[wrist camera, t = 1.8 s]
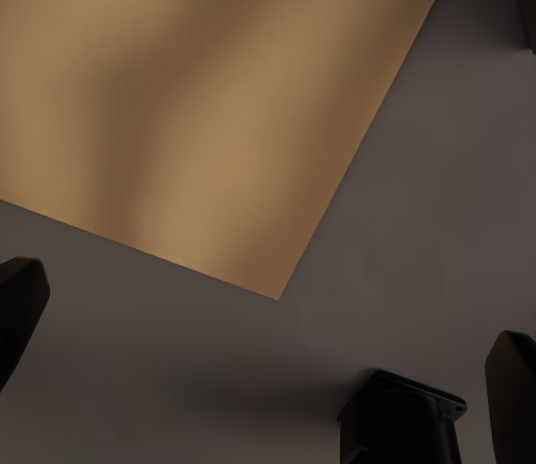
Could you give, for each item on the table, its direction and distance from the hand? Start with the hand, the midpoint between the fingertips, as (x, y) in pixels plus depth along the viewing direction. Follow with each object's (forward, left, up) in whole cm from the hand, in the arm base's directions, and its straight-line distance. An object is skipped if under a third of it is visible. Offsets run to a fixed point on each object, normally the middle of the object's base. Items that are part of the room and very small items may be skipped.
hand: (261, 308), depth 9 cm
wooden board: (+6, +2, -14) cm, 15 cm away
